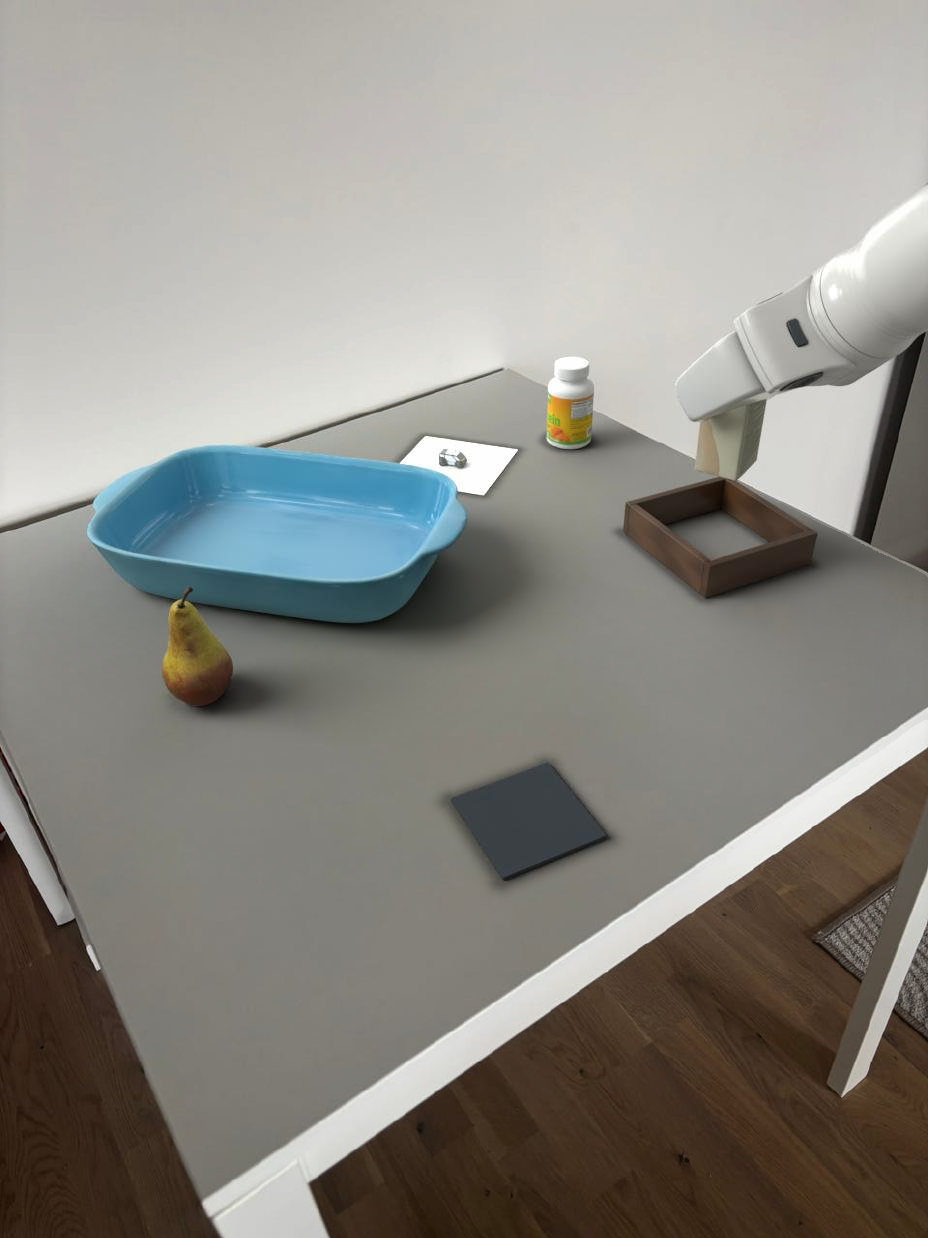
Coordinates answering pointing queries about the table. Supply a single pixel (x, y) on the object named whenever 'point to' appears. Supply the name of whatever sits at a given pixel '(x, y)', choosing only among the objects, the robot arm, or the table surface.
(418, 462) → the white card
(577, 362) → the supplement bottle
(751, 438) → the box
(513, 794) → the mat
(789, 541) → the crate
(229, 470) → the casserole dish
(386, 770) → the table surface
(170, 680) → the fruit
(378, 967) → the table surface
